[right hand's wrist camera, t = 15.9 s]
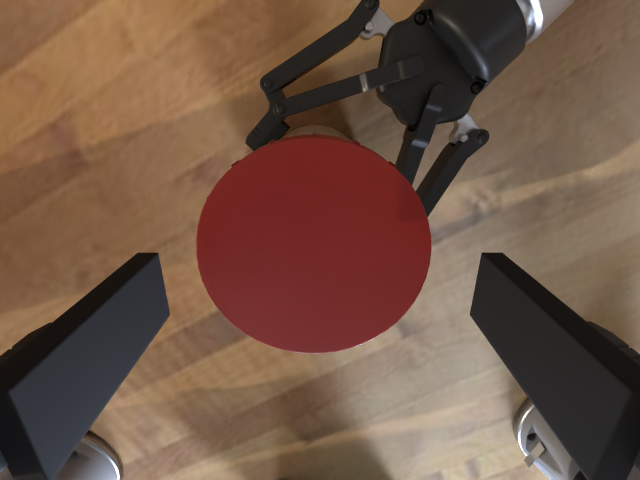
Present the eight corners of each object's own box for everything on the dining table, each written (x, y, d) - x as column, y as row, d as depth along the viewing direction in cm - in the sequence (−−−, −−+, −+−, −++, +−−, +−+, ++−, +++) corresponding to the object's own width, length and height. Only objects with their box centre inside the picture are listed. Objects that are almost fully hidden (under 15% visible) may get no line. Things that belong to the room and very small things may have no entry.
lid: (391, 345, 20) (397, 367, 18) (199, 316, 19) (188, 337, 17) (450, 158, 16) (466, 164, 14) (213, 112, 15) (200, 113, 13)
